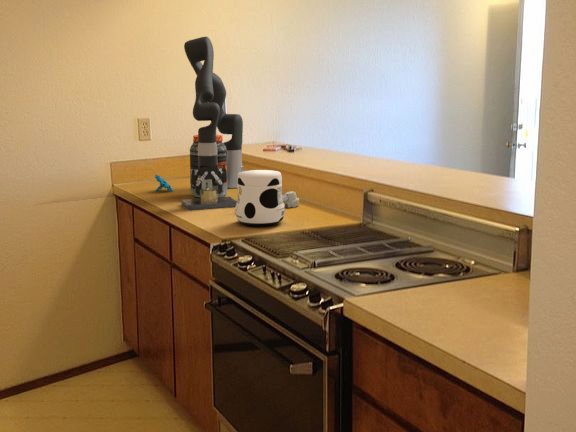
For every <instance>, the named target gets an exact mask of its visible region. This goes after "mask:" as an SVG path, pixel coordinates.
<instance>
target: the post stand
mask: <svg viewBox="0 0 576 432" xmlns="http://www.w3.org/2000/svg"><path fill="white" fill-rule="evenodd" d="M211 190H212V189H206V191H211ZM217 198H218V201H216V202H202V201H201V198H191V199H190V198H188V199H181V200H180V202H181V203H180V204H181V206H182V207H183V208H184V209H185V210H186V211H196V210H198V211H199V210H210V209H211V210H212V209H213V210H214V209H225V208H236V204H237V200H236V199H234V198H232V197H231V196H222V197H217Z"/></svg>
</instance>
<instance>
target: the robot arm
mask: <svg viewBox="0 0 576 432" xmlns="http://www.w3.org/2000/svg"><path fill="white" fill-rule="evenodd" d="M183 47H184V48H183V49H184V52H185V55H186V57H187V60H188V62H189V64H190V66H191V67H192V69H193V71H194V73H195V75H196V78H195V82H194V89H195V101H194V105H193V108H192V116H193V119H194V120H196V121H197V122H207V121H209V122H210V123H209V124H208V125H206V126H201V127H199V128H198V130H197V135H198V142H199V143H198V165H199V167H198V170H194V169H191V172H190V180H189V181H190V183H189V184H190V185H191V184H192V185H195V192H196V194H197V195H200V186H199V185H200V183H201V182H202V181H203V179H205V180H208V179H215V180H216V181H217V182H218V194H221V192H222V184H223V183H226V182H227V189H238V188H237V185H238V182H237V177H238V173H239V172H242V171H245V170H244V165H243V152H242V151H243V150H242V149H243V148H242V147H243V131H244V123H243V122H244V121H243V118H242V116H241V115H240V114H237V113H225V111H224V108H223V105H224V103H225V101H226V97H227V90H226V87H225V85H224V82H223V80H222V78H221V77H220V76H219V75H218V74H217V73H215V72H214V59H215V58H214V57H215V54H214V46H213V43H212V40H211V39H210V38H209V37H208V36H201V37H198V38H193V39H189V40H186V41H185V42H184V45H183ZM202 62H203V63H202ZM217 130H218V132H219V133H220V134H221V135H231V139H229V140H227V141H224V142H222V143H223V144H224V145H225V146H226V149H227V178H226V169H225V168H224V167H222V168H218V161H217V153H218V151H217V144H216V135H217ZM219 171H220V173H222V180H220V179H219V177H218V176H217V173H218V172H219ZM197 172H198V173H199V175H200V176H199V177H198V179H197V181H196V182H195V175H196V173H197Z"/></svg>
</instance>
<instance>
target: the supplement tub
mask: <svg viewBox="0 0 576 432" xmlns="http://www.w3.org/2000/svg"><path fill="white" fill-rule="evenodd" d="M192 138H193V139H192V144H191V146H190V147H189V167H190V168H189V169H190V170H189V171H190V172H191V169H194V170H198V167H199V165H198V143H199V142H198V134H195V135H193V137H192ZM223 139H224V138H223V134H216V144H217V151H218V153H217V161H218V168H222V167H224V168H225V169H226V178H227V149H226V146H225V145H224V144H223V143H224V142H223V141H224V140H223ZM199 176H200V175H199V173H198V172H197V173H196V175H195V182H196V181H197V179H198V177H199ZM217 176H218V177H219V179H220V180H222V173H220V171H219V172H218V173H217ZM199 186H200V195H197V194H196V192H195V185H192V184H191V183H190V193H191V195H192V196H193V197H196V198H198V199H201V189H205V188H214V189H217V197H226V195H227V194H228V188H227V182H226V183H223V184H222V192H221V194H218V182H217V181H216V180H215V179H208V180H205V179H203V181H202V182H201V183H200V185H199Z"/></svg>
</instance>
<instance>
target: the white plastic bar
mask: <svg viewBox="0 0 576 432" xmlns="http://www.w3.org/2000/svg"><path fill="white" fill-rule="evenodd" d="M282 200H283V204H284V208H288V209H290V208H297V206H299V201H300V198H299V197H297V194H296V192H295V191H291V190H290V191H287V192H285V193H284V194H283V193H282Z"/></svg>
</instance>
